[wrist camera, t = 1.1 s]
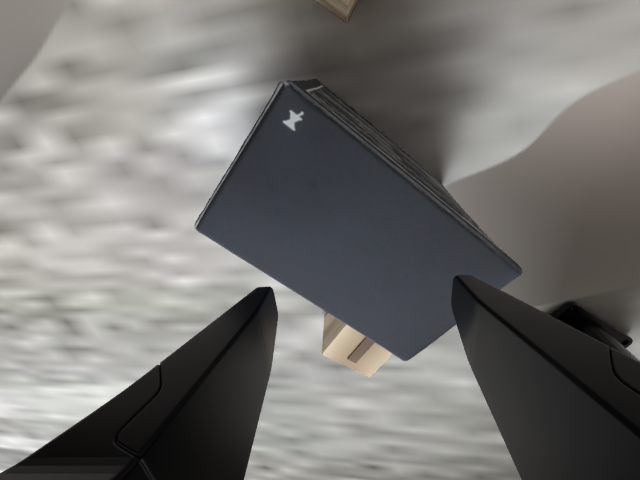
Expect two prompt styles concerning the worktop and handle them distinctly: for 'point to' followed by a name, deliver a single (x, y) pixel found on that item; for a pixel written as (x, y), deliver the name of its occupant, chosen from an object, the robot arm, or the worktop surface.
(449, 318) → the small box
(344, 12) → the marked block 1
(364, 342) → the marked block 2
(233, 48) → the worktop surface
